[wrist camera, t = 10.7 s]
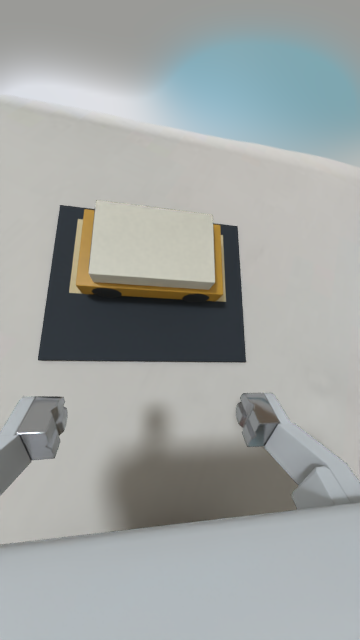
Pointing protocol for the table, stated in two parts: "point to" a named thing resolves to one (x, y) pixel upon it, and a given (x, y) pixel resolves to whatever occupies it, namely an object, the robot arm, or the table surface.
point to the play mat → (138, 313)
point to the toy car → (149, 253)
